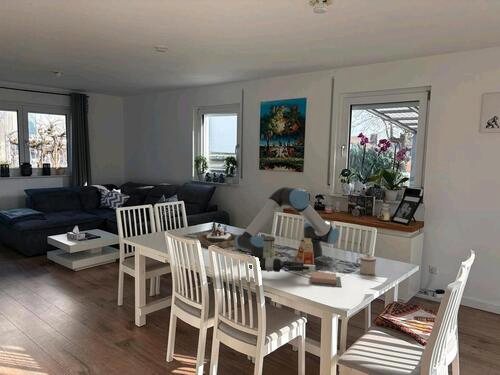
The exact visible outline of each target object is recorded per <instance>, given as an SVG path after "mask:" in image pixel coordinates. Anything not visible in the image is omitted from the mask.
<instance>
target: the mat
mask: <svg viewBox="0 0 500 375" xmlns="http://www.w3.org/2000/svg"><path fill="white" fill-rule="evenodd" d="M336 278H337V284H329V283H317V282H311V286H319V287H320V286H323V287H332V288H334V287H336V288H342V280H341V276H336Z"/></svg>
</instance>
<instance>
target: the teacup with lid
mask: <svg viewBox="0 0 500 375" xmlns="http://www.w3.org/2000/svg"><path fill="white" fill-rule="evenodd" d="M359 261H360V264H359ZM376 261H377V259H376V257H374V256H372V255H371V253H366V254H364V255H361V256H360V258H357V259H356V265H357V267H359V272H360V273H361V274H363V275H368V274H371V275H374V274H375V273H376Z"/></svg>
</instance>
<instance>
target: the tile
mask: <svg viewBox="0 0 500 375" xmlns="http://www.w3.org/2000/svg"><path fill="white" fill-rule="evenodd" d="M336 277H337V273H331V272H330V273H329V272H316V271H311V272H310V282H311V283H312V282H317V283H329V284H337V278H336Z"/></svg>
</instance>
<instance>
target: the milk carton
mask: <svg viewBox="0 0 500 375" xmlns="http://www.w3.org/2000/svg"><path fill="white" fill-rule="evenodd" d="M296 254H297V255H296V260H295V262H298V263H304V264H303V265H315V259H314V257H315V256H314V254H313V245H312V242H311V238H304V236H302V239H301V240H300V242H299V246H298V249H297V253H296ZM308 271H311V270H303V272H308Z"/></svg>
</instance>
